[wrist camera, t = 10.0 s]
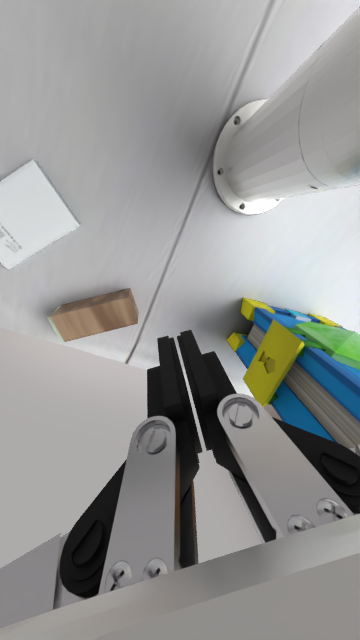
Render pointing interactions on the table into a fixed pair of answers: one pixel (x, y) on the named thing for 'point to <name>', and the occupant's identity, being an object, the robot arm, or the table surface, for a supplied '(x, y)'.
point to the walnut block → (94, 315)
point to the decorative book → (303, 370)
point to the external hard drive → (31, 214)
